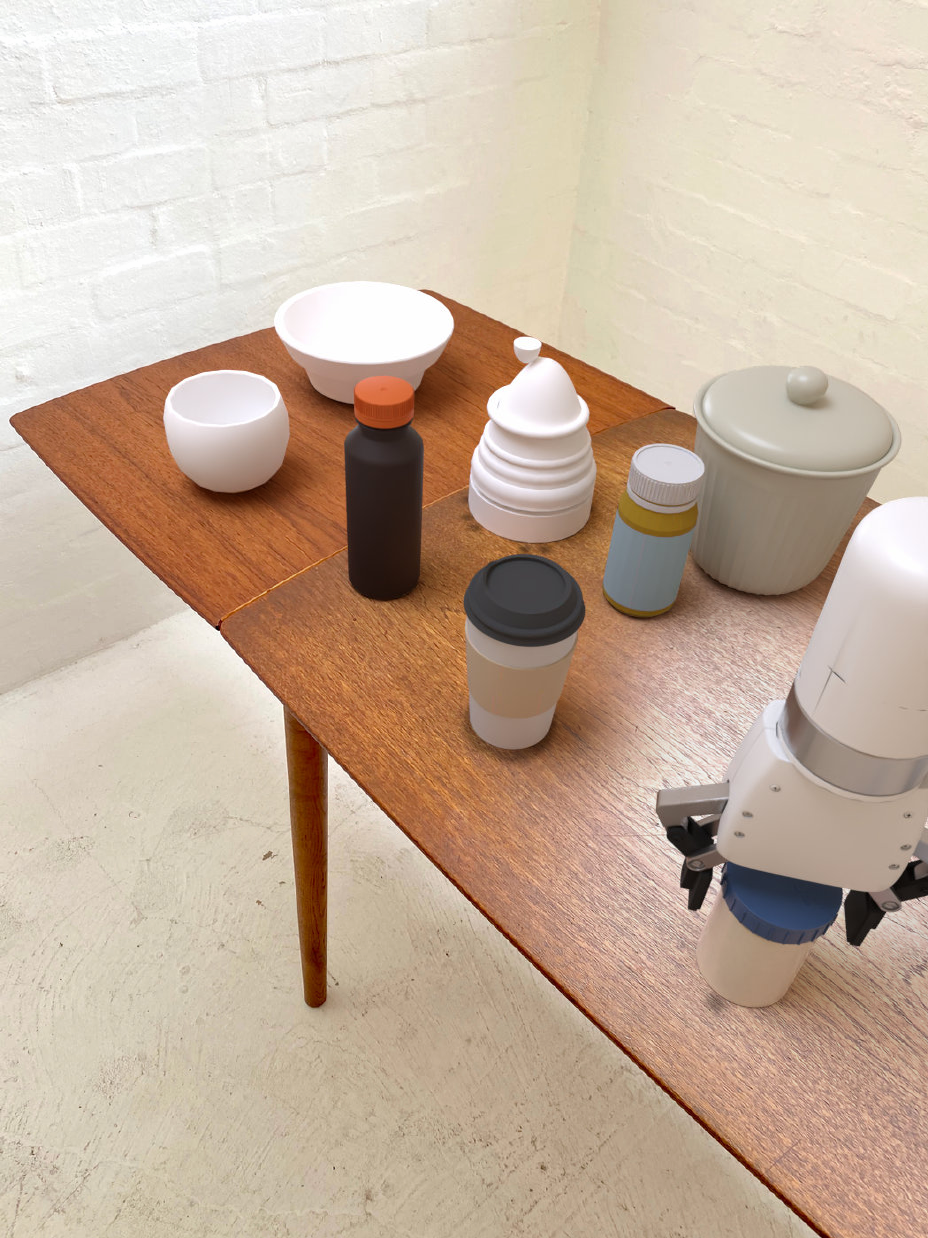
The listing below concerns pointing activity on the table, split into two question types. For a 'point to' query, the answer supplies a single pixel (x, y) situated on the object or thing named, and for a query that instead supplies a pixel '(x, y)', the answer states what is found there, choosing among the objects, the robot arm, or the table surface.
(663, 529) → the bottle
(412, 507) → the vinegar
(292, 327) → the bowl
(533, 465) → the honey pot
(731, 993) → the jar
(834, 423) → the canister
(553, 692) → the coffee cup
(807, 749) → the robot arm
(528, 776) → the table surface
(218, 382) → the cup
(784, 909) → the lid
